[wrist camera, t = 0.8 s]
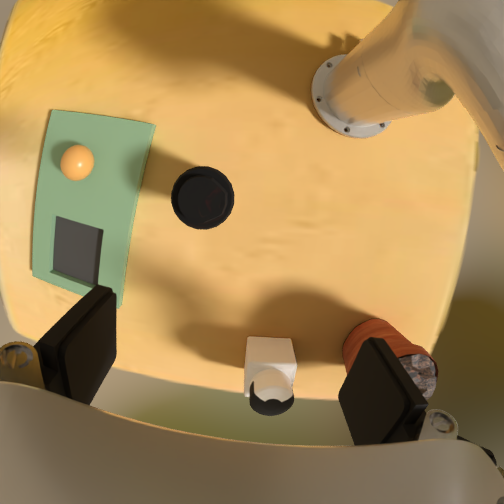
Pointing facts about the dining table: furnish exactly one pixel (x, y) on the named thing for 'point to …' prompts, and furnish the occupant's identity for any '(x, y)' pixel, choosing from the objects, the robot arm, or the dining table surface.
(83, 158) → the orange ball
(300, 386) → the dining table surface
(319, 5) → the dining table surface
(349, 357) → the potted plant
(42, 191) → the mat
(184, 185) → the coffee cup
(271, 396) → the medicine bottle
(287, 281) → the dining table surface
